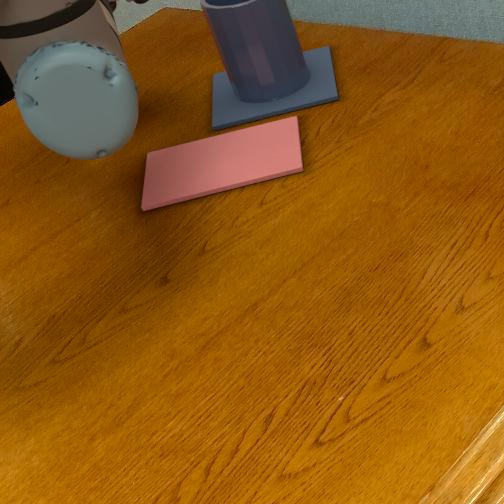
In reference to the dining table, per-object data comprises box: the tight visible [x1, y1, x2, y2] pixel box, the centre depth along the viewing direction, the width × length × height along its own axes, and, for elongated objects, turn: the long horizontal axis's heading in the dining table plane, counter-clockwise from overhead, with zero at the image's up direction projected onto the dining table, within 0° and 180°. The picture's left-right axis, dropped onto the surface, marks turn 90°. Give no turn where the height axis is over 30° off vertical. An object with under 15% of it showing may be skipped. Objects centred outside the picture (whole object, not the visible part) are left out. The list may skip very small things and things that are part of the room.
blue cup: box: [199, 0, 310, 103], centre depth 94 cm, size 7×7×9 cm
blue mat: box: [211, 45, 340, 131], centre depth 97 cm, size 12×12×1 cm
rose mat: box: [140, 115, 304, 212], centre depth 88 cm, size 14×10×1 cm
